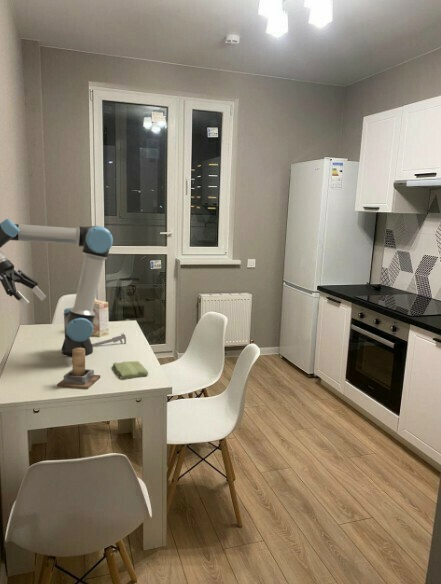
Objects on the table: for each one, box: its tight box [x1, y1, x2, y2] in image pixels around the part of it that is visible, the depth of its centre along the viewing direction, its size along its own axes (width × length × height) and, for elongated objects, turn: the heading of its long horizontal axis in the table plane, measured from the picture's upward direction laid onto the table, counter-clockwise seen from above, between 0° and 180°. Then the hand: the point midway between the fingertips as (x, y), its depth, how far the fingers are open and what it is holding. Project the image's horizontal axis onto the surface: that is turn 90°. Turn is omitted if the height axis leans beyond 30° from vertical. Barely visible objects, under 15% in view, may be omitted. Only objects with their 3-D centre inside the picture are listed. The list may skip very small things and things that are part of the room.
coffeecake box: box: [91, 299, 110, 338], centre depth 251 cm, size 15×7×20 cm, turn 55°
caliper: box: [92, 332, 127, 348], centre depth 231 cm, size 20×1×6 cm, turn 114°
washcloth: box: [111, 360, 149, 380], centre depth 194 cm, size 13×18×3 cm
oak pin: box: [71, 348, 86, 376], centre depth 178 cm, size 5×5×13 cm
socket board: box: [56, 368, 101, 390], centre depth 179 cm, size 13×13×4 cm
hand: (35, 301), depth 184 cm, fingers open, 13 cm apart
